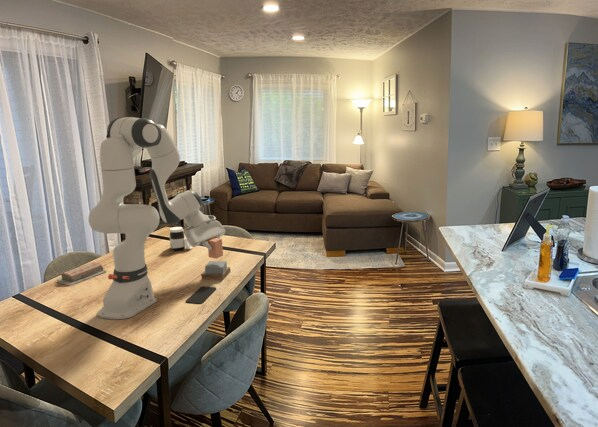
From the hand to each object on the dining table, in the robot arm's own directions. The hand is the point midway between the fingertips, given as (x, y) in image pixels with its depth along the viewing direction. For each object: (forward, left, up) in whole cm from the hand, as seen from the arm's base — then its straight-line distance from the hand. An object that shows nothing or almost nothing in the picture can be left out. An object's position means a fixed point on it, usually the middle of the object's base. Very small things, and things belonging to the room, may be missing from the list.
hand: (216, 247), depth 182 cm
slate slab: (0, +1, -11) cm, 11 cm away
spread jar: (+34, +34, -14) cm, 50 cm away
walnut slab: (0, +1, -14) cm, 14 cm away
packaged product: (-11, +62, -14) cm, 64 cm away
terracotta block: (0, +1, -4) cm, 4 cm away
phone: (-21, -1, -14) cm, 26 cm away
